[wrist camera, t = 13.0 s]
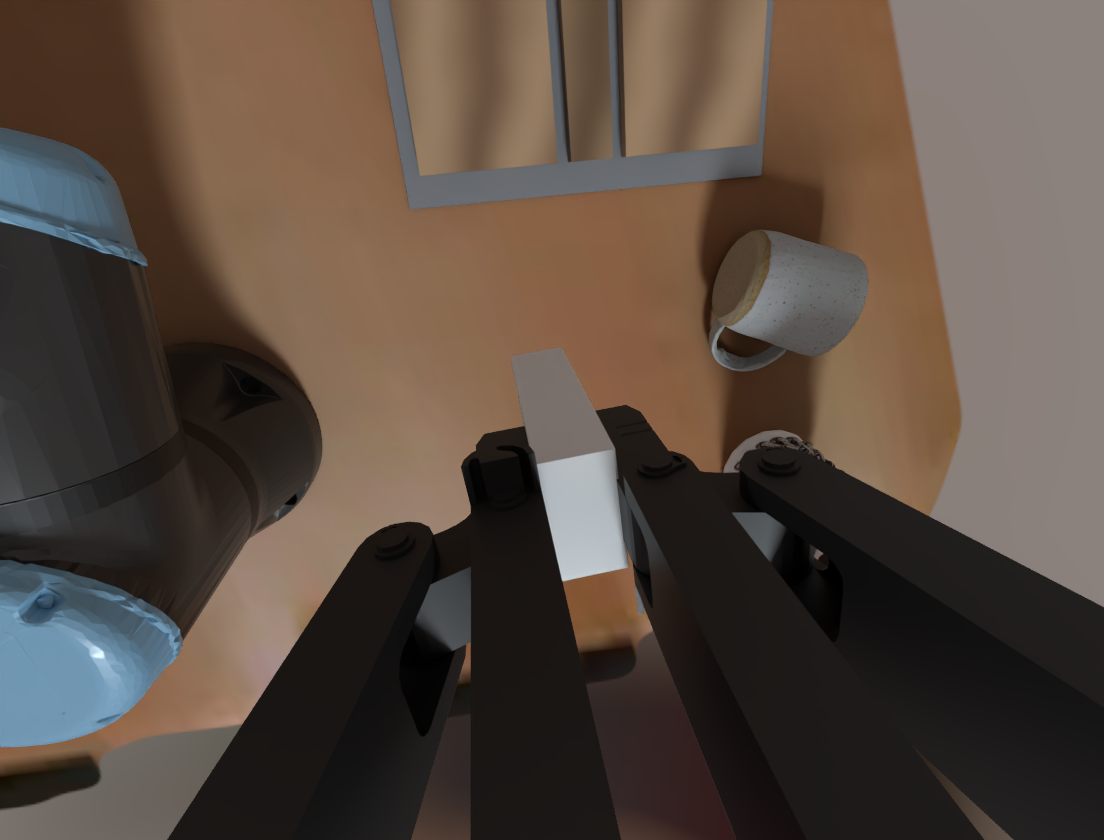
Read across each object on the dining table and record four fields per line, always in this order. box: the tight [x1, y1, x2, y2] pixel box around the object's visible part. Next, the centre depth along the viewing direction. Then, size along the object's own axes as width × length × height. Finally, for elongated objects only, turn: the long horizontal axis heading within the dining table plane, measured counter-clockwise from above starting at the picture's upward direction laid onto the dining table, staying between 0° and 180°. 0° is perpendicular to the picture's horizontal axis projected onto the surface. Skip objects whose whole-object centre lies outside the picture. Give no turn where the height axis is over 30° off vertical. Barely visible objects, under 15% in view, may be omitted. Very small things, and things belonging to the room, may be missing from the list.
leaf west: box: [390, 0, 558, 176], centre depth 33 cm, size 9×13×1 cm
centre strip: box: [557, 0, 613, 162], centre depth 34 cm, size 3×13×2 cm, turn 5°
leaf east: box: [617, 0, 767, 157], centre depth 34 cm, size 9×13×1 cm
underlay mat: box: [372, 0, 773, 209], centre depth 35 cm, size 25×17×1 cm
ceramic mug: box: [709, 230, 869, 371], centre depth 40 cm, size 11×8×8 cm
